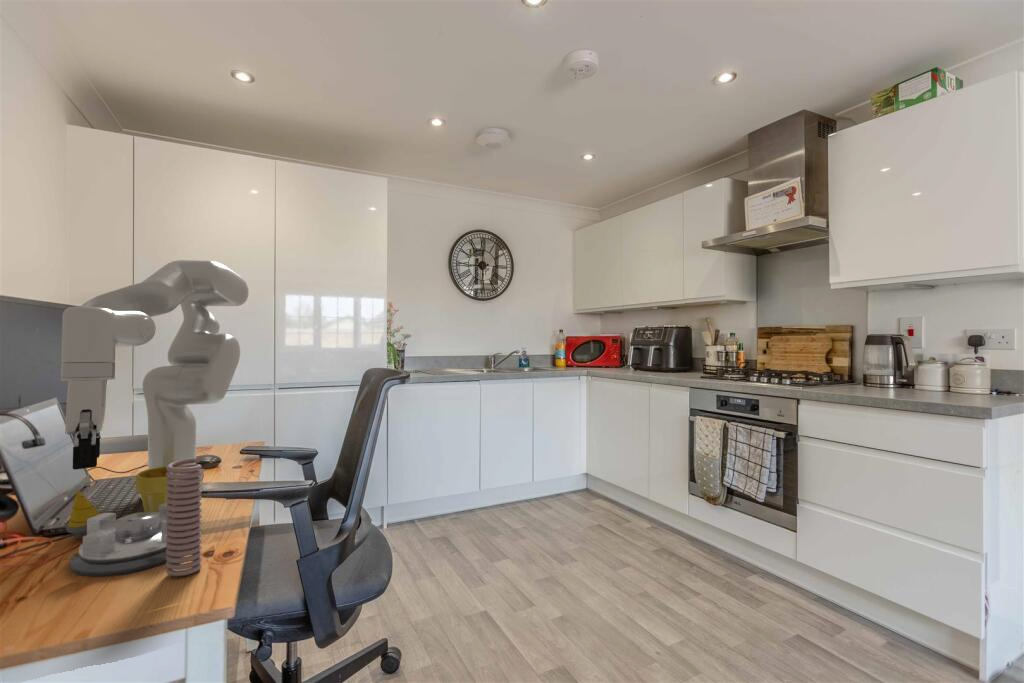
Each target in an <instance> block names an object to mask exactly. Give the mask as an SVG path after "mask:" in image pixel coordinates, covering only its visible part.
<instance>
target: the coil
mask: <svg viewBox="0 0 1024 683" xmlns="http://www.w3.org/2000/svg"><path fill="white" fill-rule="evenodd" d="M200 461H201V459H200V458H199V457H196V458H189V459H183V460H179V461H175V462H172V463H170V464H168V465H167V467H166V470H167V471H168V472H167V473H166V476H167V477H168V478H167V479H166V483H167V486H166V489H167V490H168V491H167V492H166V495H167V498H166V502H167V505H166V508H167V509H168V510H167V511H166V515H167V517H166V521H167V524H166V528H167V530H166V534H167V536H166V540H167V543H166V547H167V549H166V553H167V556H166V560H167V562H166V563H165V566H166V568H165V572H166V574H167V575H169V576H171V577H182V576H183V577H184V576H189V575H192V574H194V573H197V572H198V571H199V570H201V569H202V566H203V565H202V559H203V558H202V557H201V556H202V551H201V550H202V545H201V543H202V538H201V537H202V535H203V534H202V532H201V531H202V526H201V525H202V520H200V519H202V517H203V515H202V514H201V513H202V512H203V511H202V508H201V507H202V504H203V503H202V502H201V500H202V492H203V491H201V490H200V489H199V488H201V486H202V485H201V484H202V483H201V481H202V477H201V475H202V471H201V469H202V467H203V466H202V465H201V464H199V463H200ZM188 463H196V464H190V465H184V466H179V467H176V468H175V466H178V465H182V464H188ZM173 473H177V474H173ZM174 479H177V480H174ZM173 486H175V487H173ZM173 492H175V493H173ZM174 498H175V499H174ZM173 505H174V506H173ZM173 511H175V512H173ZM172 524H173V525H172ZM190 530H191V531H190ZM186 537H188V538H186ZM172 543H173V544H172ZM186 543H189V544H186ZM183 544H184V545H183ZM187 549H191V550H187ZM183 550H187V551H183Z"/></svg>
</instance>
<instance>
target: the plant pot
mask: <svg viewBox="0 0 1024 683" xmlns="http://www.w3.org/2000/svg"><path fill="white" fill-rule="evenodd" d="M179 466H184V465H178V466H175V468H176V467H179ZM166 467H167V466H161V467H156V468H151V469H148V468H147V469H144V470H142V471H140V472H138V473H137V474H136V476H135V490H136V492H137V493H138V494H139V496H140V495H141V499H142V505H143V510H144V512H147V511H155V512H158V506H159V505H161V504H164V503H166V498H167V495H166V492H167V491H168V490H167V489H166V486H167V483H166V479H167V478H168V477H167V476H166V473H167V472H168V471H167V470H166ZM173 474H177V473H173ZM174 480H177V479H174ZM173 487H175V486H173ZM173 493H175V492H173ZM174 499H175V498H174Z"/></svg>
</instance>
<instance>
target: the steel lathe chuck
mask: <svg viewBox="0 0 1024 683" xmlns="http://www.w3.org/2000/svg"><path fill="white" fill-rule="evenodd" d="M166 505H167V502H166V503H164V504H161V505H159V506H158V512H155V511H147V512H145V511H140V512H139V511H138V512H134V513H131V514H128V515H124V516H121V517H119V518H118V519H117V513H114V512H103V513H102V514H99V515H97V516H94V517H92V518H89V519H87V535H86V536H83V538H82V543H80V545H79V547H78V550H79V558H80V560H82V561H84V562H89V563H112V562H121V561H127V560H132V559H137V558H141V557H145V556H149V555H152V554H155V553H158V552H161V551H164V550H166V549H167V547H166V543H167V540H166V536H167V534H166V530H167V528H166V524H167V521H166V517H167V515H166V511H167V510H168V509H167V508H166ZM173 506H174V505H173ZM173 512H175V511H173ZM172 525H173V524H172ZM190 531H191V530H190ZM186 538H188V537H186ZM172 544H173V543H172Z"/></svg>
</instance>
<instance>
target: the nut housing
mask: <svg viewBox="0 0 1024 683" xmlns="http://www.w3.org/2000/svg"><path fill="white" fill-rule="evenodd" d="M186 544H189V543H186ZM183 545H184V544H183ZM187 550H191V549H187ZM187 550H183V551H187ZM166 556H167V553H166V550H164V551H161V552H158V553H155V554H152V555H149V556H145V557H141V558H137V559H132V560H127V561H121V562H112V563H89V562H84V561H82V560H80V558H79V549H77V550H76V551H75V552H73V553H72V556H71V558H70V562H69V563H70V571H71V572H72V573H73V574H75V575H76V576H77V575H78V576H81V577H90V578H91V577H92V578H96V577H97V578H99V577H101V578H103V577H104V578H106V577H116V576H124V575H129V574H134V573H138V572H142V571H145V570H149V569H153V568H155V567H159V566H161V565H166V562H167V560H166Z"/></svg>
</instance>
